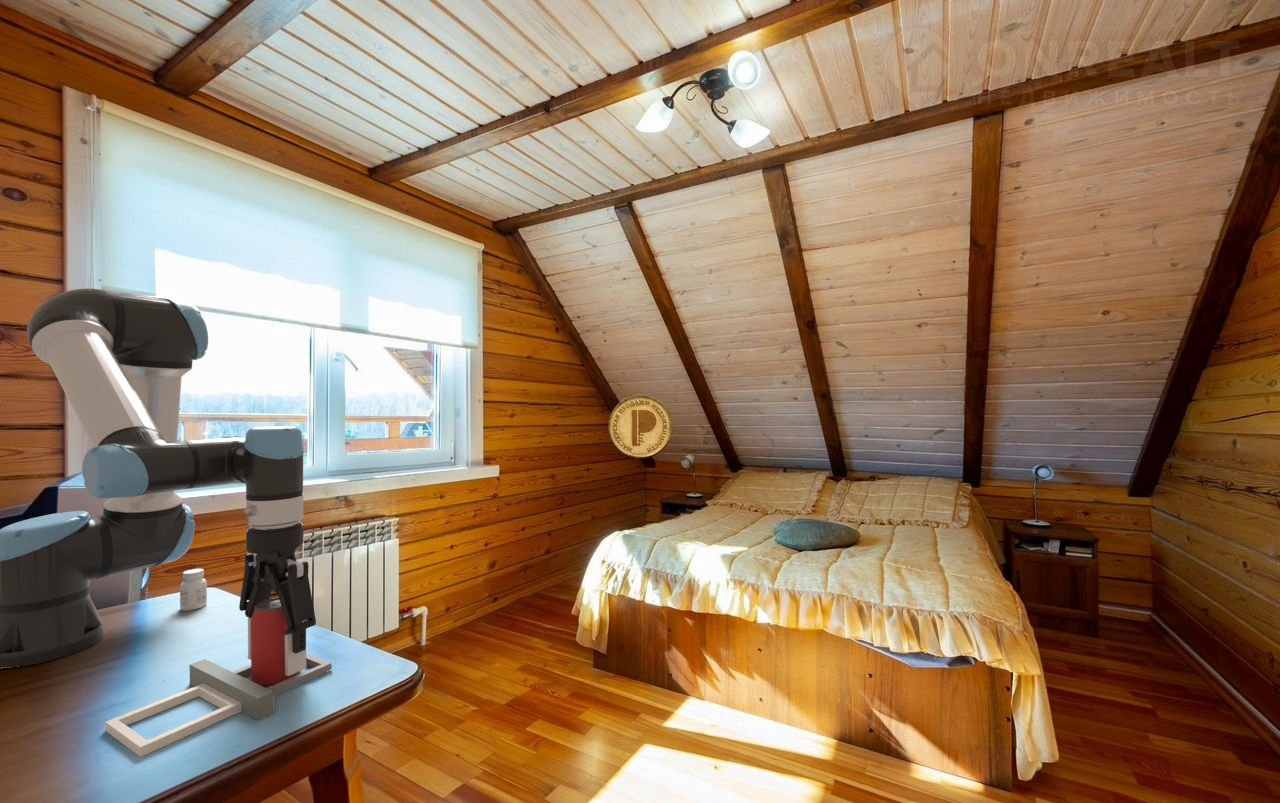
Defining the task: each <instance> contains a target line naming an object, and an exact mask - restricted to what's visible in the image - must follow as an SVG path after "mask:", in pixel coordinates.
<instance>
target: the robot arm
mask: <svg viewBox="0 0 1280 803" xmlns="http://www.w3.org/2000/svg"><path fill="white" fill-rule="evenodd" d="M26 328H27V329H26V333H27V336H26V337H27V341H28V343H29V345H30V347H31V350H32V351H33V353H34V355H35V356H36V357H37V358H38V359H39V360H40V361H42V362H43V363H45V364H48V365H50V367H51V369H52V371H53V373H54V375H55V377H56V378H57V380H58V382H59V384H60V386H61V388H62V390H63V392H64V394H65V395H66V397H67V399H68V401H69V404H70V405H71V407H72V409H73V411H74V413H75V416H77V419H78V420H79V422H80V424H81V425H82V428H83V430H84V432H85V434H86V435H87V437H88V440H89V441H90V444H91V445H92V447H91V448H89V449H88V450H87V451H86V453H85V454H84V456H83V457H84V458H83V459H82V467H81V468H82V469H81V470H82V471H81V473H82V477H83V480H84V481H83V484H84V487H85V489H86V491H87V492H88V493H89V494H90V495H91V496H92V497H94V498H97V499H108V500H106V501H105V502H104V503H103V512H102V514H101V515H98V516H97V515H96V516H91V515H90V513H89V512H88V511H85V510H70V511H65V512H56V513H51V514H45V515H42V516H41V515H40V516H37V517H31V518H28V519H23V520H21V521H18V522H14V523H11V524H9V525H6V526H4V527H2V528H0V668H1V667H17V666H23V667H26V666H25V665H29V666H32V665H31V664H34V665H37V664H43V663H46V662H49V661H53V660H56V659H60V658H63V657H67V656H70V655H72V654H74V653H77V652H81V651H83V650H85V649H88V648H89V647H91V646H93V645H96V644H97V643H98V642H100V641H101V640H102V639H103V638H104V633H105V632H104V629H105V628H104V621H103V620H102V618H101V616H100V614H99V612H98V610H97V608H96V606H95V603H94V602H93V600H92V599H91V592H90V591H91V586H90V585H91V581H94V580H99V579H103V578H107V577H112V576H115V575H116V576H117V575H120V574H125V573H129V572H134V571H139V570H143V569H145V570H146V569H149V568H150V569H151V568H157V567H160V566H161V565H165V564H169V563H172V562H175V561H177V560H179V559H181V558H182V557H183V556H184V555H185V554H187V552H188V551H189V548H190V547H191V545H192V543H193V540H194V535H195V530H196V522H195V520H194V517H195V516H194V512H193V510H192V508H191V507H190V506H188V505H187V504H184V502H183V501H184V500H183V498H182V497H181V496H180V495H178V494H177V493H176V492H175V491H180V490H187V489H188V490H191V489H198V488H205V487H207V488H208V487H214V486H215V487H216V486H224V485H231V484H245V494H246V495H245V500H246V507H245V508H244V509H243V513H245V514H246V524H247V525H248V526H249V527H248V528H247V530H246V531H245V532H246V533H245V534H246V535H245V536H246V541H245V542H246V544H245V545H246V546H245V547H246V551H247V552H248V553H246V554H245V555H244V573H243V580H242V586H241V593H240V600H239V605H238V606H239V607H238V608H239V611H241V612H243V611H244V615H245V617H247V659H248V660H250V661H251V619H252V615H253V613H254V611H255V606H256V605H257V604H258V603H260V602H262V601H264V600H267V599H270V597H271V594H272V591H273V592H275V593H276V594H277V597H279V600H280V603H281V606H282V610H283V613H284V616H285V620H286V623H287V626H288V630H287V631H285V632H284V634H285V675H287V676H289V675H292V674H294V673H296V672H299V671H300V672H301V671H303V670H305V669H307V665H306V653H307V630H308V629H309V628H311V627H315V626H316V624H317V620H316V615H315V609H314V603H313V597H312V596H313V595H312V591H311V583H310V578H309V567H310V566H309V562H308V561H307V560H304V561H300V562H299V561H297V557H296V553H295V551H296V550H297V549H298V548H299V547H301V546H302V545H303V544H304V539H305V538H304V534H305V533H304V523H303V522H302V520H303V519H304V517H305V516H304V452H305V448H304V446H303V432H302V430H301V429H300V428H299V427H297V426H292V425H291V426H290V425H289V426H288V425H287V426H284V425H283V426H281V425H280V426H278V425H277V426H274V425H273V426H257V427H251V428H249V429H247V431H246V433H245V437H243V436H241V435H240V436H238V435H235V436H234V435H233V436H222V437H217V438H209V439H207V438H206V439H193V440H190V439H189V440H178V437H179V436H178V434H179V420H180V418H179V417H180V407H181V406H180V405H181V404H180V403H181V391H182V377H183V376H184V375H185V374H187V373H189V372H190V371H191V370H192V369H193V361H196V360H201V359H202V358H203V357H205V355H206V351H207V350H208V346H209V335H208V334H209V331H208V327H207V323H206V321H205V319H204V316H203V315H202V313H201V312H200V310H199V309H198V307H196V306H195V305H193V304H192V303H191V302H188V301H185V300H179V299H175V298H168V297H166V296H163V297H161V296H152V295H145V294H144V295H143V294H137V293H129V292H121V291H113V290H105V289H100V288H77V289H71V290H67V291H63V292H61V293H58V294H56V295H54V296H51V297H50V298H48V299H47V300H45V301H44V302H42V303H41V304H40V305H39V306H38V307H37V308H36V309H35V310H34V311H33V312H32V314H31V316H30V318H29V320H28V321H27V327H26ZM17 668H18V667H17ZM300 672H299V673H300Z"/></svg>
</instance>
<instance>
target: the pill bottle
mask: <svg viewBox="0 0 1280 803" xmlns="http://www.w3.org/2000/svg"><path fill="white" fill-rule="evenodd" d="M204 576H205V570H204V568H193V569H188V570H185V571H183V572H182V580H183V581H182V582H181V583H180V584H179V609H180V610H181V611H184V612H185V611H187V612H188V611H194V610H199V609H201V608H203V607H206V606H207V604H208V591H207V590H208V589H207V587H208V586H207V584H208V583H207V580H206V579H205V578H204Z"/></svg>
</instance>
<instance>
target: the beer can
mask: <svg viewBox="0 0 1280 803" xmlns="http://www.w3.org/2000/svg"><path fill="white" fill-rule="evenodd" d="M287 630H288V626H287V623H286V620H285V616H284V613H283V610H282V606H281V603H280V600H279V596H277V597H272V598H269V599H267V600H264V601H262V602H260V603H258V604H257V605H256V606H255V611H254V613H253V615H252V619H251V660H250V665H251V675H250V679H251V680H250V681H252V682H254V683H256V684H258V685H261V686H263V687H265V688H268V687H271V686H273V685H275V684H278V683H280V682H282V681H285V680H287V679H289V678H291V677H294V676H296V675H298V674H300V672H301V671H299V672H296V673H294V674H292V675H289V676H287V675H285V634H284V632H285V631H287Z"/></svg>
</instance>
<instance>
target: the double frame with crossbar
mask: <svg viewBox="0 0 1280 803" xmlns="http://www.w3.org/2000/svg"><path fill="white" fill-rule="evenodd" d="M332 664H333V663H332V662H330V661H327V660H325V659H323V658H319V657H317V656H314V655H312V654H309V653H307V652H306V667H309V668H310V669H307V670H306V671H303V672H301V673H298V675H296V676H294V677H291V678H289V679H287V680H285V681H282V682H280V683H278V684H275V685H273V686H268V687H263V686H261V685H258V684H256V683H254V682H252V681H251V680H250V679H248V678H247V677H249V676H250V677H251V664H249V665H247V666H244V667H242V668H240V669H237V670H234V671H231V670H229V669H227V668H225V667H222V666H221V665H218V664H216V663H214V662H212V661H210V660H208V659H205V658H204V659H201V660H198V661H195V662H192V663H190V664H189V685H192V686H193V687H191V688H188V689H186V690H183V691H181V692H178V693H175V694H173V695H170V696H168V697H165V698H162V699H160V700H157V701H155V702H152V703H150V704H147V705H145V706H142V707H140V708H139V707H138V708H137V709H134V710H132V711H129V712H127V713H124V714H122V715H120V716H117V717H113V718H112V719H109V720H106V721H104V723H105V725H104V726H105V727H104V730H105V732H107V733H108V734H109V735H111V736H112V737H113V738H114V739H116V740H117V741H118V742H119V743H121V744H122V745H124V746H125V747H126V748H128V749H129V750H130V751H132V753H133V752H134V754H136V755H137V756H138V757H140V758H141V757H143V756H146V755H148V754H150V753H153V752H154V751H157V750H159V749H161V748H164V747H165V746H168V745H170V744H172V743H174V742H177V741H179V740H181V739H183V738H186V737H188V736H190V735H192V734H194V733H196V732H199V731H201V730H203V729H205V728H208V727H210V726H212V725H214V724H216V723H218V722H221V721H223V720H225V719H229V717H231V716H235V715H236V714H238V713H240V712H241V713H244V714H245V715H247V716H249V717H251V718H253V719H255V720H257V721H260V720H262V719H264V718H266V717H268V716H270V715H272V714H275V710H274V709H275V707H274V704H275V703H274V702H275V700H274V699H275V697H276V696H278V695H280V694H282V693H284V692H287V691H289V690H292V689H294V688H296V687H298V686H300V685H302V684H303V685H304V683H307V682H308V681H311V680H314V679H316V678H319V677H320V676H322V675H324V674H323V673H325V672H327V671H329V670H330V669H332V667H333V666H332ZM329 672H330V671H329ZM327 673H328V672H327ZM325 674H326V673H325ZM197 697H199V698H201V699H203V700H205V701H207V702H209V703H211V704H213V705H214V706H216V707H218V709H216V710H214V711H211V712H209V713H207V714H205V715H202V716H200V717H198V718H195V719H194V720H193V719H192V720H190V721H188V722H186V723H184V724H182V725H179V726H177V727H174V728H172V729H170V730H168V731H165V732H164V733H161V734H159V735H156V736H154V737H152V738H149V739H146V738H144V737H143V736H141V735H140V734H139V733H138V732H136V731H135V730H133V729H132V728H131V727H129V725H132V724H134V723H137V722H138V721H141V720H144V719H146V718H149V717H150V716H151V717H152V716H153V715H156V714H158V713H161V712H163V711H165V710H169V709H171V708H173V707H176V706H178V705H180V704H183V703H186V702H188V701H191V700H192V699H193V700H194V699H195V698H197Z"/></svg>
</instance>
